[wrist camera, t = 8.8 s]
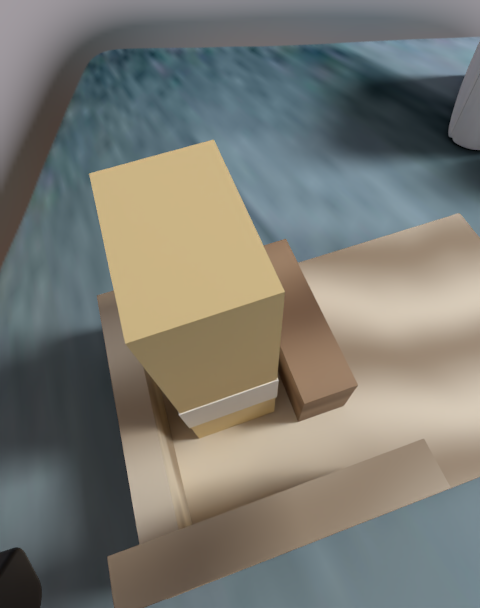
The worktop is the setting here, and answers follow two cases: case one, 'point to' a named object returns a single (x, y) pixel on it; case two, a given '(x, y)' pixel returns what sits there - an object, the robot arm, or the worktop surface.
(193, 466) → the wooden blocks on plank
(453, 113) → the photo printer
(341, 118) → the worktop surface
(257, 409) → the tea box
